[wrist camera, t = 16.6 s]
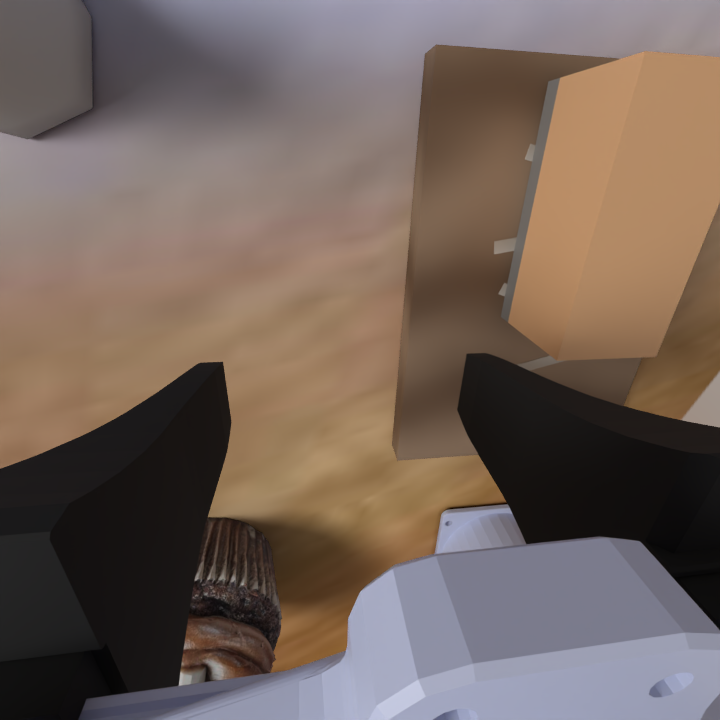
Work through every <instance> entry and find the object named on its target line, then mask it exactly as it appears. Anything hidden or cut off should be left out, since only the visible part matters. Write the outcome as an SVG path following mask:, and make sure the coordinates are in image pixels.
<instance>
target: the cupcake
mask: <svg viewBox="0 0 720 720" xmlns="http://www.w3.org/2000/svg"><path fill="white" fill-rule="evenodd" d="M281 619H282V617H281V609H280V602H279V597H278V593H277V587H276V580H275V572H274V565H273V559H272V551H271V547H270V545H269V542H268V541H267V540H266V538H265V537H264V535H263V534H262V533H261V532H259V531H257V530H255V529H254V528H253V527H252V526H250V525H249V524H247V523H244V522H241V521H237V520H232V519H228V518H209V517H207V520H206V524H205V528H204V532H203V537H202V542H201V547H200V553H199V558H198V564H197V569H196V575H195V581H194V587H193V593H192V599H191V604H190V610H189V617H188V624H187V630H186V637H185V644H184V651H183V657H182V664H181V672H180V680H179V686H181V685H188V684H196V683H203V682H210V681H217V680H224V679H231V678H238V677H246V676H253V675H260V674H267V673H270V671H271V669H272V667H273V665H272V663H273V662H274V661H275V660H276V659H275V658H274V657H275V655H274V653H273V651H274V649H275V646H276V643H277V639H278V637H279V635H280V630H281Z"/></svg>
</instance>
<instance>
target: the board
mask: <svg viewBox="0 0 720 720" xmlns="http://www.w3.org/2000/svg"><path fill="white" fill-rule="evenodd" d="M616 60H619V59H617V58H604V57H591V56H578V55H565V54H552V53H539V52H526V51H513V50H500V49H487V48H473V47H460V46H447V45H435V46H434V47H433V48H432V49H430V50H429V51H428V52H427V53H426V54H425V60H424V72H423V83H422V95H421V107H420V119H419V131H418V143H417V155H416V167H415V179H414V191H413V202H412V214H411V226H410V238H409V250H408V262H407V274H406V286H405V298H404V309H403V321H402V333H401V345H400V357H399V369H398V381H397V393H396V405H395V417H394V428H393V440H392V446H393V449H394V452H395V455H396V458H397V460H411V459H425V458H439V457H453V456H467V455H478V453H477V451H476V449H475V448H474V446H473V444H472V443H471V441H470V439H469V437H468V435H467V433H466V431H465V428H464V426H463V424H462V421H461V418H460V416H459V413H458V411H457V408H458V402H459V396H460V390H461V384H462V378H463V372H464V366H465V360H466V354H470V353H488V354H491V355H494V356H497V357H499V358H502V359H504V360H507V361H509V362H511V363H514V364H516V365H518V366H520V367H523V368H525V369H527V370H529V371H531V372H534V373H536V374H538V375H540V376H543V377H545V378H547V379H550V380H552V381H554V382H557V383H559V384H562V385H564V386H567V387H569V388H572V389H574V390H577V391H579V392H582V393H585V394H587V395H590V396H593V397H596V398H599V399H602V400H605V401H609V402H612V403H615V404H618V405H621V406H623V405H624V403H625V400H626V397H627V395H628V392H629V390H630V387H631V385H632V382H633V380H634V377H635V375H636V372H637V370H638V367H639V364H640V362H641V359H642V358H618V359H591V360H564V361H556V360H555V359H554V358H553V357H551V356H550V355H549V354H547V353H546V352H545V351H544V350H542V349H541V348H540V347H539V346H537V345H536V344H535V343H533V342H532V341H531V340H530V339H528V338H527V337H526V336H524V335H523V334H522V333H521V332H519V331H518V330H517V329H515V328H514V327H513V326H512V325H510V324H509V323H508V322H507V321H505V320H504V319H503V318H501V313H502V308H503V303H504V298H505V293H506V288H507V283H508V278H509V273H510V268H511V263H512V258H513V253H514V249H515V244H516V239H517V234H518V229H519V224H520V219H521V214H522V209H523V204H524V199H525V194H526V189H527V185H528V180H529V175H530V170H531V165H532V160H533V155H534V150H535V145H536V140H537V135H538V130H539V125H540V120H541V116H542V111H543V106H544V101H545V96H546V91H547V86H548V81H551V80H555V79H558V78H561V77H564V76H568V75H571V74H574V73H577V72H580V71H584V70H587V69H590V68H593V67H596V66H600V65H603V64H606V63H609V62H613V61H616Z"/></svg>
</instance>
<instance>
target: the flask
mask: <svg viewBox="0 0 720 720" xmlns="http://www.w3.org/2000/svg"><path fill="white" fill-rule="evenodd" d="M92 108H93V95H92V22H91V16H90V14H89V12H88V10H87V9H86V7H85V5H84V3H83V1H82V0H0V132H2V133H6V134H10V135H14V136H17V137H21V138H25V139H29V138H31V137H34V136H36V135H38V134H40V133H42V132H44V131H46V130H48V129H50V128H52V127H55V126H57V125H59V124H61V123H63V122H65V121H67V120H69V119H71V118H73V117H76V116H78V115H80V114H82V113H84V112H86V111H88V110H90V109H92Z"/></svg>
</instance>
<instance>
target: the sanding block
mask: <svg viewBox="0 0 720 720" xmlns="http://www.w3.org/2000/svg"><path fill="white" fill-rule="evenodd" d="M719 203H720V57H710V56H698V55H685V54H673V53H661V52H648V51H645V52H641V53H638V54H635V55H632V56H629V57H625V58H622V59H619V60H616V61H613V62H609V63H606V64H603V65H600V66H596V67H593V68H590V69H587V70H584V71H580V72H577V73H574V74H571V75H568V76H564V77H561V78H558V79H555V80H551V81H548V86H547V91H546V96H545V101H544V106H543V111H542V116H541V120H540V125H539V130H538V135H537V140H536V145H535V150H534V155H533V160H532V165H531V170H530V175H529V180H528V185H527V189H526V194H525V199H524V204H523V209H522V214H521V219H520V224H519V229H518V234H517V239H516V244H515V249H514V253H513V258H512V263H511V268H510V273H509V278H508V283H507V288H506V293H505V298H504V303H503V308H502V313H501V318H503V319H504V320H505V321H507V322H508V323H509V324H510V325H512V326H513V327H514V328H515V329H517V330H518V331H519V332H521V333H522V334H523V335H524V336H526V337H527V338H528V339H530V340H531V341H532V342H533V343H535V344H536V345H537V346H539V347H540V348H541V349H542V350H544V351H545V352H546V353H547V354H549V355H550V356H551V357H553V358H554V359H555V360H556V361H564V360H591V359H618V358H644V357H656V356H657V354H658V351H659V349H660V346H661V344H662V342H663V339H664V337H665V334H666V332H667V329H668V327H669V325H670V322H671V320H672V317H673V315H674V312H675V310H676V308H677V305H678V303H679V300H680V298H681V295H682V293H683V291H684V288H685V286H686V283H687V281H688V278H689V276H690V274H691V271H692V269H693V266H694V264H695V261H696V259H697V256H698V254H699V252H700V249H701V247H702V244H703V242H704V239H705V237H706V235H707V232H708V230H709V227H710V225H711V222H712V220H713V218H714V215H715V213H716V210H717V208H718V205H719Z"/></svg>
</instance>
